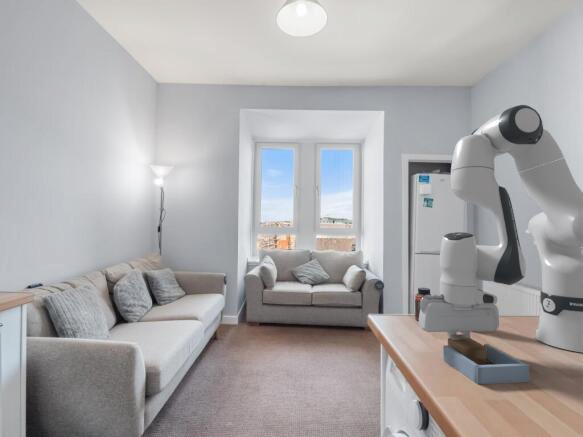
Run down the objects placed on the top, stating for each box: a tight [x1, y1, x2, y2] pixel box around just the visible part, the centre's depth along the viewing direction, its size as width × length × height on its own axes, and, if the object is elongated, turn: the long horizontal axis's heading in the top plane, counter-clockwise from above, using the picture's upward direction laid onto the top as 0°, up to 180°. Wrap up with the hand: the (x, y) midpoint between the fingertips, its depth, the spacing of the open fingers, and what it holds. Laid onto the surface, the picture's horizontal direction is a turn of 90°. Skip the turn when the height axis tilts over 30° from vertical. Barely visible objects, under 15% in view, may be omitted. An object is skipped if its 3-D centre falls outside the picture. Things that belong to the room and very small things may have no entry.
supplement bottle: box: [414, 287, 432, 322], centre depth 109 cm, size 6×6×11 cm
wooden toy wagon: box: [447, 334, 489, 365], centre depth 76 cm, size 7×6×6 cm
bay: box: [442, 343, 530, 385], centre depth 71 cm, size 12×12×4 cm
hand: (458, 347), depth 80 cm, fingers closed, pressing on wooden toy wagon
